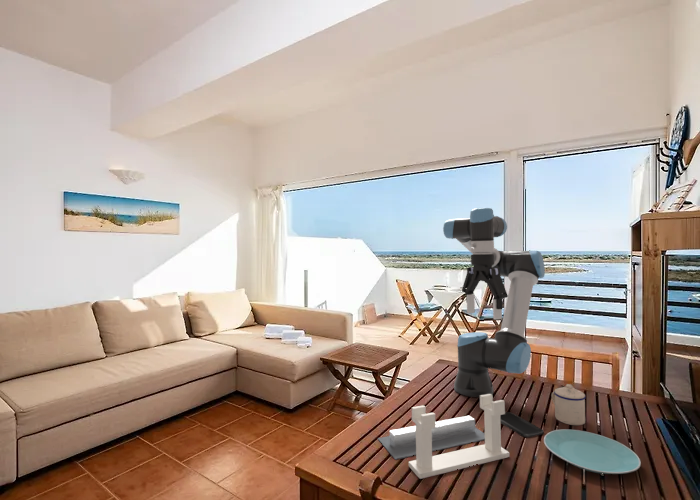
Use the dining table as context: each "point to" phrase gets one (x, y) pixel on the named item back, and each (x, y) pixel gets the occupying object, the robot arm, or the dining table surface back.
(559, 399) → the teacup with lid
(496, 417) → the rail cradle stand
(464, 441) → the slate mat
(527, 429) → the phone
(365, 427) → the dining table surface
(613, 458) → the plate
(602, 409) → the dining table surface
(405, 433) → the steel rail
